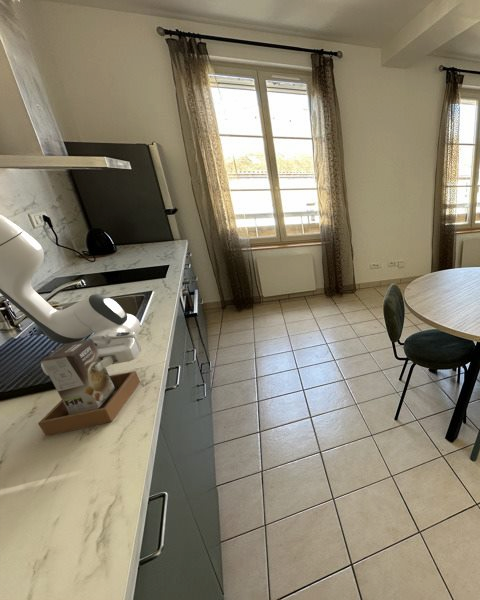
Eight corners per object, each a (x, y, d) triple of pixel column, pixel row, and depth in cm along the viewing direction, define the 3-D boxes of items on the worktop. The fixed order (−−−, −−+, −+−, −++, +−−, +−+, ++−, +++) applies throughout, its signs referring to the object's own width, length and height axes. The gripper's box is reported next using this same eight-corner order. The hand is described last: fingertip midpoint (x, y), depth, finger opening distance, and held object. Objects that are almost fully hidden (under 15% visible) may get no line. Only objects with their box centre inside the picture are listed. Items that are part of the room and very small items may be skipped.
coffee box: (99, 409, 84) (72, 355, 78) (69, 415, 83) (39, 361, 76) (116, 388, 92) (92, 338, 86) (89, 393, 91) (63, 343, 85)
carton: (45, 436, 79) (37, 423, 77) (86, 392, 94) (80, 381, 93) (111, 421, 82) (105, 409, 81) (140, 381, 98) (135, 370, 96)
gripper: (56, 344, 91) (19, 371, 79) (140, 331, 97) (118, 354, 84) (66, 363, 94) (32, 392, 82) (148, 349, 99) (127, 374, 87)
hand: (76, 372), depth 83 cm, fingers closed on coffee box, 6 cm apart
